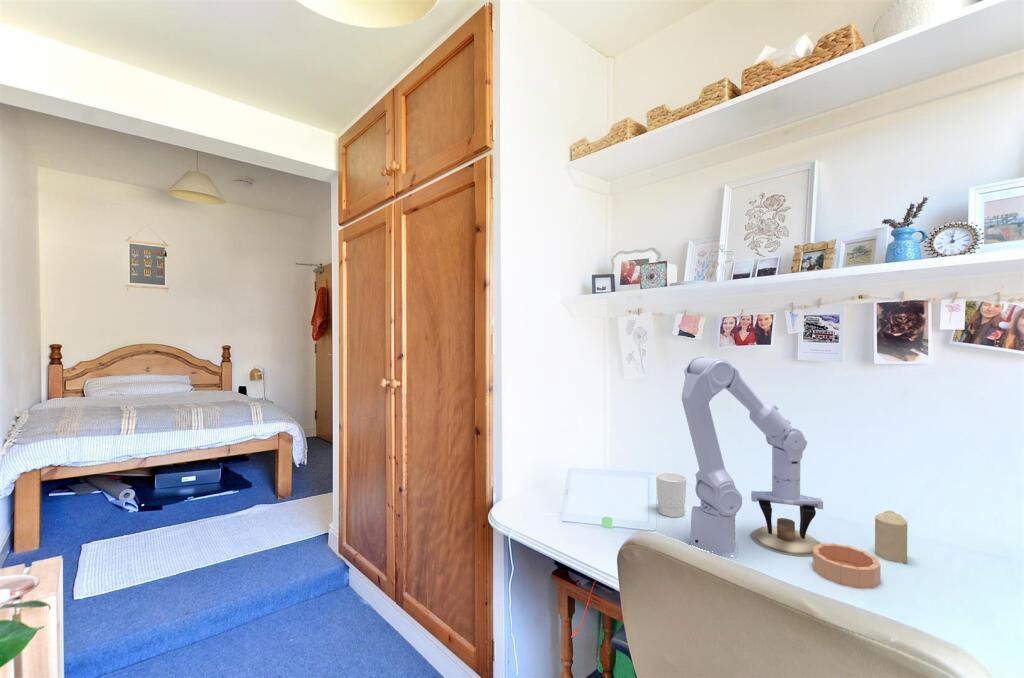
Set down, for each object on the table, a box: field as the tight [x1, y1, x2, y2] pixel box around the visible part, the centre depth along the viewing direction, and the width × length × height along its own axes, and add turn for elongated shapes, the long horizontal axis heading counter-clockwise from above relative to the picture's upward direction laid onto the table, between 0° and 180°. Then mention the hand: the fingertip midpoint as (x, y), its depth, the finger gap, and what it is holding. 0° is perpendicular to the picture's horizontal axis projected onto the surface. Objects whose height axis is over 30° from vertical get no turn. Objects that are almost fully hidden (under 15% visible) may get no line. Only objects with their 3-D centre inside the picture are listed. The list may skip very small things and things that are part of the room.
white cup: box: [655, 471, 687, 518], centre depth 129 cm, size 8×8×10 cm
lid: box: [755, 517, 819, 555], centre depth 110 cm, size 13×13×5 cm
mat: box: [749, 528, 822, 558], centre depth 110 cm, size 15×15×1 cm
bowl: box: [812, 542, 882, 589], centre depth 96 cm, size 11×11×4 cm
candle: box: [874, 510, 908, 565], centre depth 103 cm, size 6×6×10 cm
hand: (785, 534), depth 110 cm, fingers open, 6 cm apart
